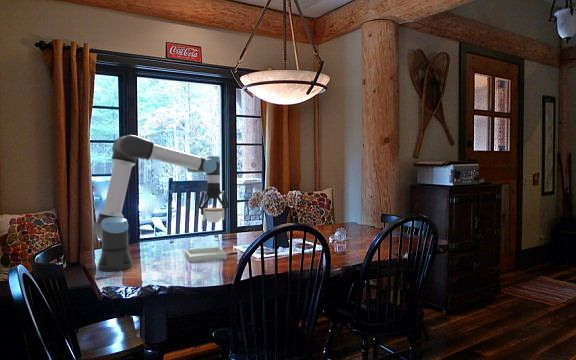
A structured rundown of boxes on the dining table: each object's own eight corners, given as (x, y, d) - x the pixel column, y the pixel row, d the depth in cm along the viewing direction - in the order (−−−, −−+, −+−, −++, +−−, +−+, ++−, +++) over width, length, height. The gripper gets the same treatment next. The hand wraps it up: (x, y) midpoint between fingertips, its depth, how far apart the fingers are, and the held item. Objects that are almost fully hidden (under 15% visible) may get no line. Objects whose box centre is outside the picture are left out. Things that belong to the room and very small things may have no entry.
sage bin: (190, 262, 206) (190, 256, 206) (184, 254, 223) (184, 249, 223) (226, 259, 213) (226, 253, 213) (218, 252, 230) (218, 246, 230)
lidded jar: (224, 220, 244) (224, 205, 244) (220, 223, 233) (220, 206, 233) (207, 220, 245) (207, 204, 245) (201, 222, 234) (201, 206, 234)
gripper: (231, 181, 246) (231, 218, 247) (192, 182, 237) (192, 220, 238) (234, 182, 239) (234, 220, 240) (194, 182, 230) (194, 221, 231)
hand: (213, 220), depth 239 cm, fingers closed on lidded jar, 11 cm apart
